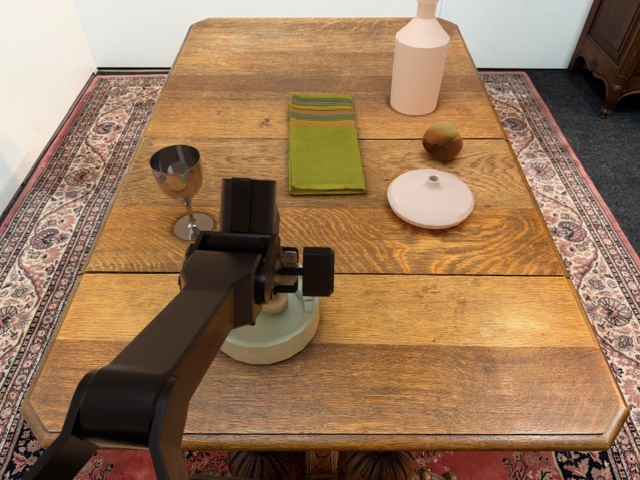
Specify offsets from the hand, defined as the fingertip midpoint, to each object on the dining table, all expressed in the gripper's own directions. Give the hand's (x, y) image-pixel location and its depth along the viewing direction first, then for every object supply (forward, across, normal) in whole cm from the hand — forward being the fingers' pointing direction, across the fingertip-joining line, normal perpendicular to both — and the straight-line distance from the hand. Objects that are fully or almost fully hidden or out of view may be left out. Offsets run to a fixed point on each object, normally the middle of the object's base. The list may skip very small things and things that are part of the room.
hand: (269, 266), depth 68 cm
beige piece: (+4, 0, +6) cm, 7 cm away
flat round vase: (+22, -26, -10) cm, 36 cm away
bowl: (+3, +1, +8) cm, 9 cm away
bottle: (+50, -28, -38) cm, 68 cm away
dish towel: (+37, -6, -25) cm, 45 cm away
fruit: (+34, -31, -22) cm, 50 cm away
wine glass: (+18, +16, -6) cm, 25 cm away
